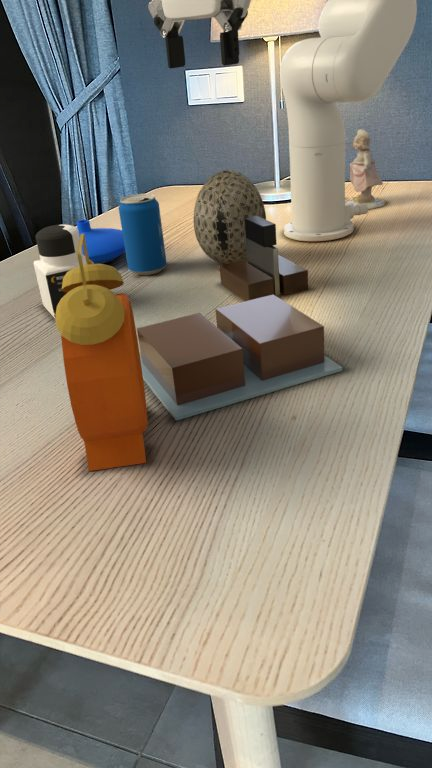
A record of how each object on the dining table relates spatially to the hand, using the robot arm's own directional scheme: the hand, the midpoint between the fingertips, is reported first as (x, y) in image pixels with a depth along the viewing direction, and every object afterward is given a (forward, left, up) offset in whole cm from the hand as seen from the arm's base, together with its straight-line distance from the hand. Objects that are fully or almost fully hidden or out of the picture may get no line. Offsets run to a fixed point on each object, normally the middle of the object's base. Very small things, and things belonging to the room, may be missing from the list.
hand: (203, 65), depth 95 cm
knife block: (-2, +11, -30) cm, 32 cm away
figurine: (-40, -20, -30) cm, 54 cm away
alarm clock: (+29, +40, -30) cm, 58 cm away
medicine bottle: (+25, +1, -30) cm, 39 cm away
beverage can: (+10, -8, -30) cm, 33 cm away
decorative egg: (-3, -2, -30) cm, 31 cm away
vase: (+17, -20, -30) cm, 40 cm away
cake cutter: (-2, +11, -30) cm, 32 cm away
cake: (+13, +32, -30) cm, 46 cm away
